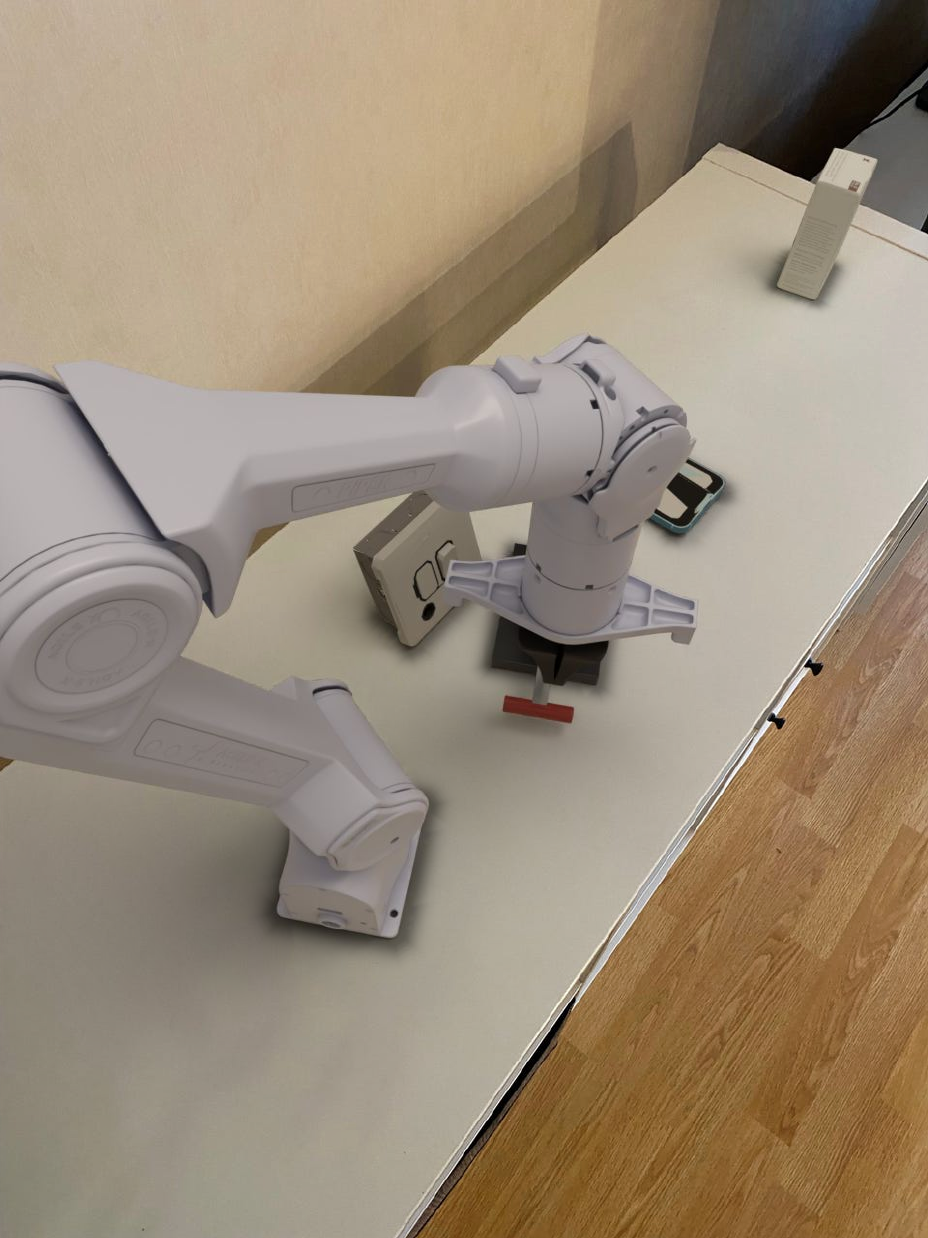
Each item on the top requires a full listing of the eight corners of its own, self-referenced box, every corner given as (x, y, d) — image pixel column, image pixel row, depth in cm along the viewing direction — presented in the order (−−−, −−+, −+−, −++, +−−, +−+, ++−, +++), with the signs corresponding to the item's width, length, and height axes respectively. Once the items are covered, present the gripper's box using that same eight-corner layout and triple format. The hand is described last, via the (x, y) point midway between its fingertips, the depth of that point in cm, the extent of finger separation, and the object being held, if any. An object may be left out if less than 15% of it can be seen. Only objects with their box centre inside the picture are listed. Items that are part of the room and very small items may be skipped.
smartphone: (585, 399, 87) (730, 479, 81) (584, 407, 87) (728, 487, 82) (535, 446, 83) (683, 532, 78) (535, 454, 84) (681, 540, 79)
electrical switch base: (596, 685, 72) (610, 634, 66) (490, 667, 73) (495, 614, 66) (611, 567, 78) (626, 510, 72) (514, 551, 78) (519, 493, 72)
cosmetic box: (792, 254, 99) (832, 142, 89) (835, 268, 98) (880, 156, 88) (774, 289, 96) (813, 177, 86) (817, 303, 95) (862, 192, 85)
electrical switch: (410, 653, 73) (396, 577, 66) (360, 620, 75) (341, 543, 68) (486, 575, 77) (481, 495, 70) (437, 546, 79) (427, 465, 72)
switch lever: (570, 725, 70) (572, 722, 67) (502, 713, 70) (502, 709, 68) (596, 566, 72) (598, 558, 69) (529, 555, 72) (530, 546, 70)
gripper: (719, 510, 53) (670, 638, 65) (460, 470, 54) (457, 603, 66) (713, 615, 49) (662, 732, 61) (436, 570, 51) (437, 693, 62)
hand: (555, 671), depth 63 cm, fingers closed
